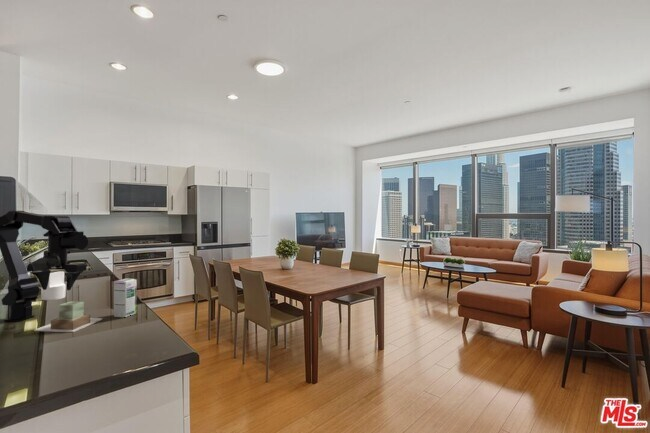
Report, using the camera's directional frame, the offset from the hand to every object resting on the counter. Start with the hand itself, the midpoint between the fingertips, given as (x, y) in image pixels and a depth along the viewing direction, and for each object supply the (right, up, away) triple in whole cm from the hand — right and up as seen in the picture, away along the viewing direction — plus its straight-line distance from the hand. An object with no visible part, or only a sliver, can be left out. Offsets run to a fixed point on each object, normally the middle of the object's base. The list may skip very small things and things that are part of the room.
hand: (56, 289), depth 121 cm
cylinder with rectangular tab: (-30, -12, +34) cm, 46 cm away
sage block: (+10, -9, -5) cm, 14 cm away
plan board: (+8, -12, -3) cm, 15 cm away
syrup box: (+20, -13, +10) cm, 25 cm away
